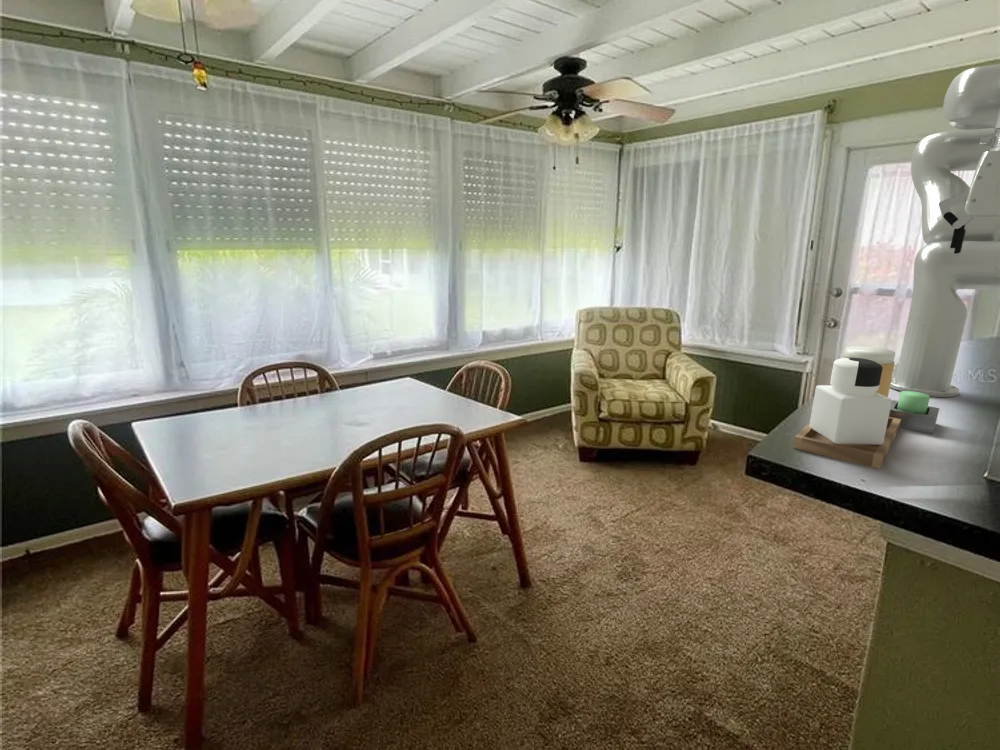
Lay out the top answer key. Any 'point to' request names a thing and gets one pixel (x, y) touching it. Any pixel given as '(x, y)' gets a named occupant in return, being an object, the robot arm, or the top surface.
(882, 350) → the bottle
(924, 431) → the button pedestal
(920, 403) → the button
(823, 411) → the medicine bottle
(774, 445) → the top surface
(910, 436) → the top surface
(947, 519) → the top surface
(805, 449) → the wooden tray
